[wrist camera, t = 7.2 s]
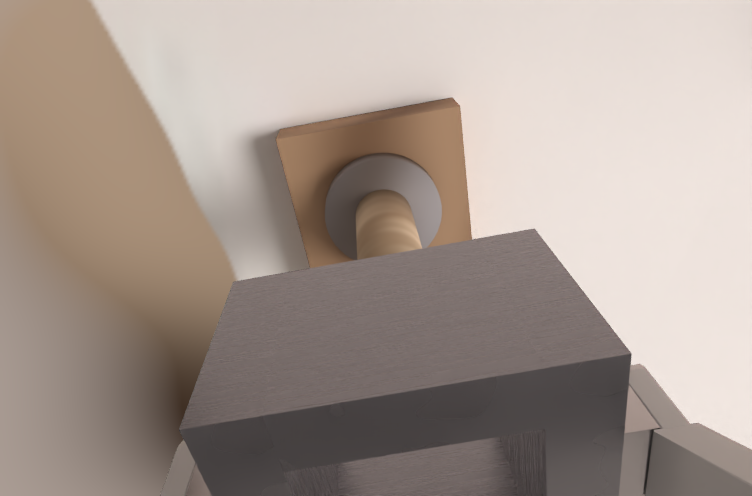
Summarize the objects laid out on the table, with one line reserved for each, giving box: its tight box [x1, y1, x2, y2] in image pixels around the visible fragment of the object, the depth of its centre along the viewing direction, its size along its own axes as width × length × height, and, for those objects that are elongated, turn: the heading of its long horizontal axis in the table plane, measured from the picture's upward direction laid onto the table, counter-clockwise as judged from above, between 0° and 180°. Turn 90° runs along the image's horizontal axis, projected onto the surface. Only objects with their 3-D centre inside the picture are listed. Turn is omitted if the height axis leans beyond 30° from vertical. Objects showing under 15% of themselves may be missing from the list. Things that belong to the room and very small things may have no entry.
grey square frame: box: [179, 229, 631, 496], centre depth 10 cm, size 6×6×4 cm
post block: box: [276, 98, 472, 268], centre depth 19 cm, size 7×7×8 cm
